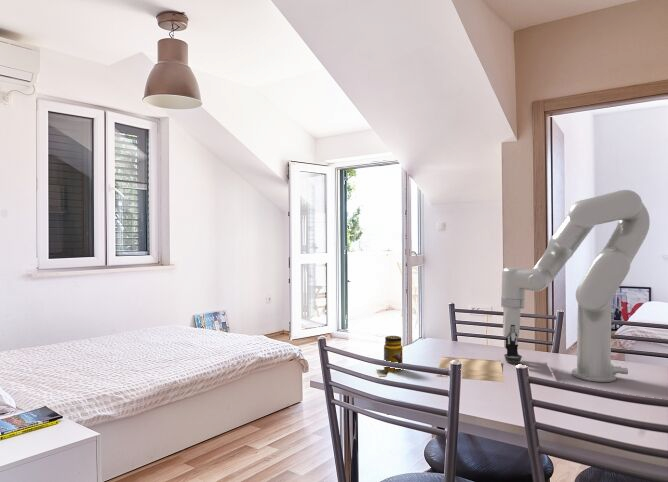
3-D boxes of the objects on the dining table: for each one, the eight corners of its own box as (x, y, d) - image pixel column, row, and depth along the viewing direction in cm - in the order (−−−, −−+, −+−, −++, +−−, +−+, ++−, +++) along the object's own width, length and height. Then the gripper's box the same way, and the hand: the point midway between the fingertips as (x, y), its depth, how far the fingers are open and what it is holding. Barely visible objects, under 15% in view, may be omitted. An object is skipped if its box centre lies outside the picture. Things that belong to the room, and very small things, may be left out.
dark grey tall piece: (523, 365, 171) (523, 331, 171) (519, 369, 166) (520, 333, 166) (506, 363, 174) (506, 329, 174) (501, 366, 169) (502, 332, 169)
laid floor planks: (502, 376, 158) (502, 372, 158) (503, 385, 148) (503, 381, 148) (438, 371, 163) (438, 367, 163) (436, 380, 154) (436, 376, 154)
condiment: (405, 376, 158) (405, 339, 158) (379, 376, 158) (379, 339, 157) (401, 370, 165) (401, 334, 165) (376, 370, 165) (376, 334, 165)
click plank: (500, 364, 170) (500, 360, 169) (502, 376, 158) (502, 372, 158) (441, 360, 175) (441, 356, 175) (438, 371, 164) (438, 367, 164)
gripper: (500, 299, 179) (498, 345, 180) (502, 306, 163) (500, 357, 163) (522, 300, 177) (520, 347, 178) (526, 307, 161) (524, 359, 161)
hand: (511, 352), depth 171 cm, fingers open, 9 cm apart
